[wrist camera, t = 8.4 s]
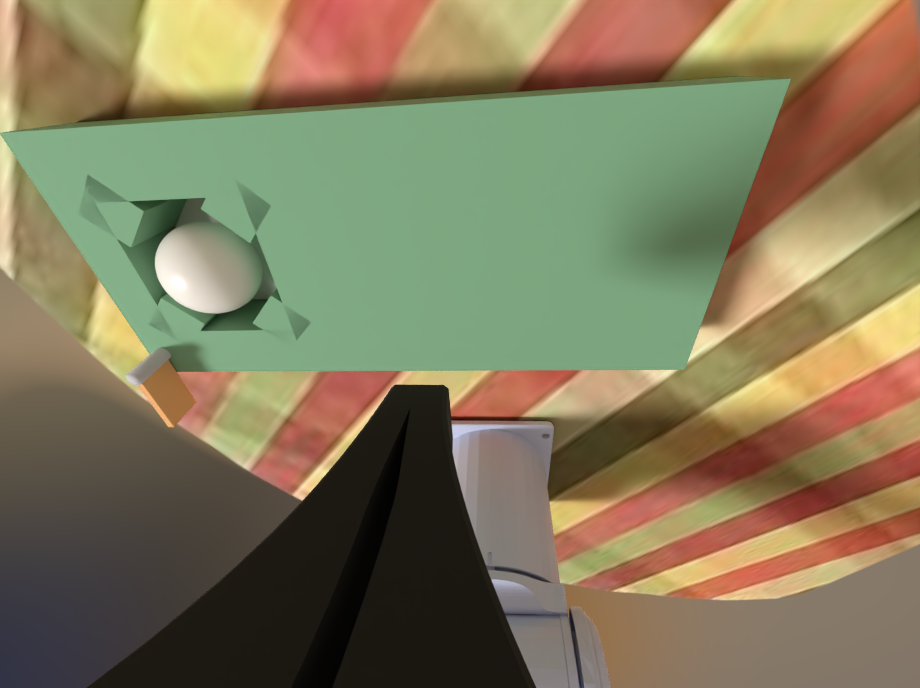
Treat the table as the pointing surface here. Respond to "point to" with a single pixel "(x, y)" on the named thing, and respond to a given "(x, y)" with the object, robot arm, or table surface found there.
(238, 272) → the ball
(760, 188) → the table surface
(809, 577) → the table surface
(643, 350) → the green board with hole
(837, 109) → the table surface
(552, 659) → the robot arm
